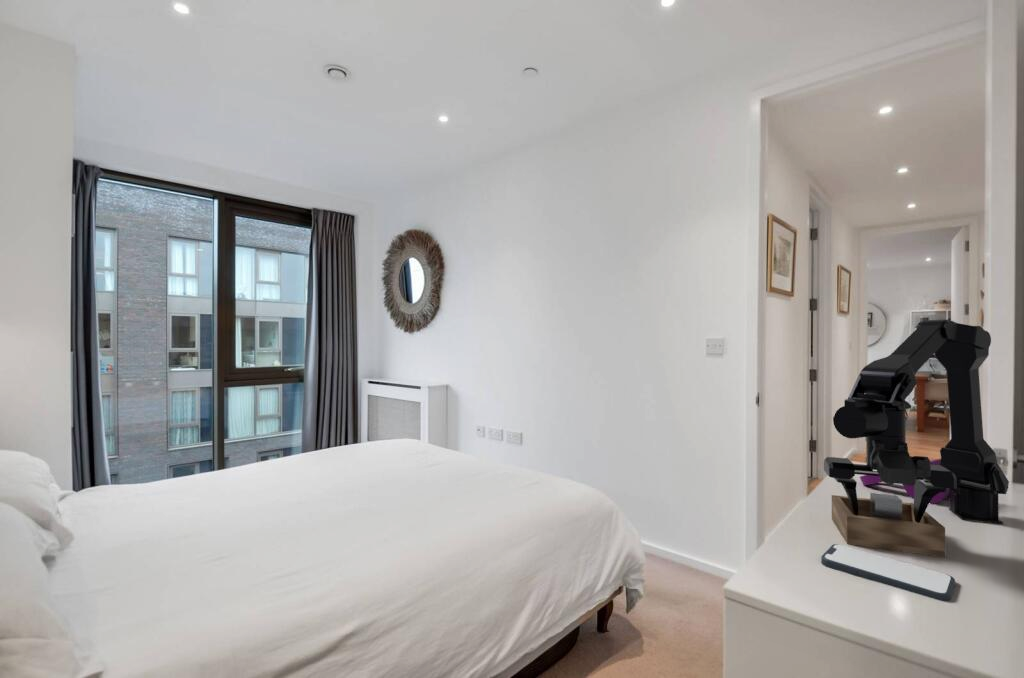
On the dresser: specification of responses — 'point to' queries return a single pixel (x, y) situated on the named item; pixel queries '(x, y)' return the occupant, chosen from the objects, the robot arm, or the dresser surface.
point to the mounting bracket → (909, 489)
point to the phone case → (889, 572)
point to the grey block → (885, 506)
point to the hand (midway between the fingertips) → (886, 518)
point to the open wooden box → (888, 528)
